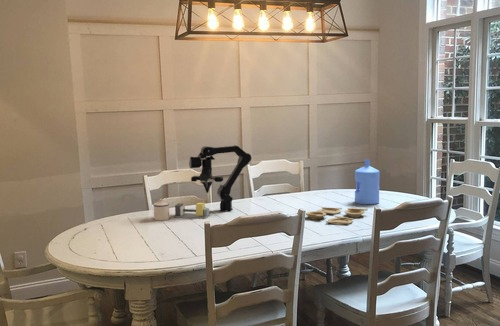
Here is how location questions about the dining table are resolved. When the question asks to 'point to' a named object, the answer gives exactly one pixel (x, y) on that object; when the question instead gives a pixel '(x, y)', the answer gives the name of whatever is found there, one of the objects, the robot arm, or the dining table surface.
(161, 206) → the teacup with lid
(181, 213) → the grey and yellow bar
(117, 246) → the dining table surface
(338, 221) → the tableware set
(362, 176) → the water jug
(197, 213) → the sleeve
